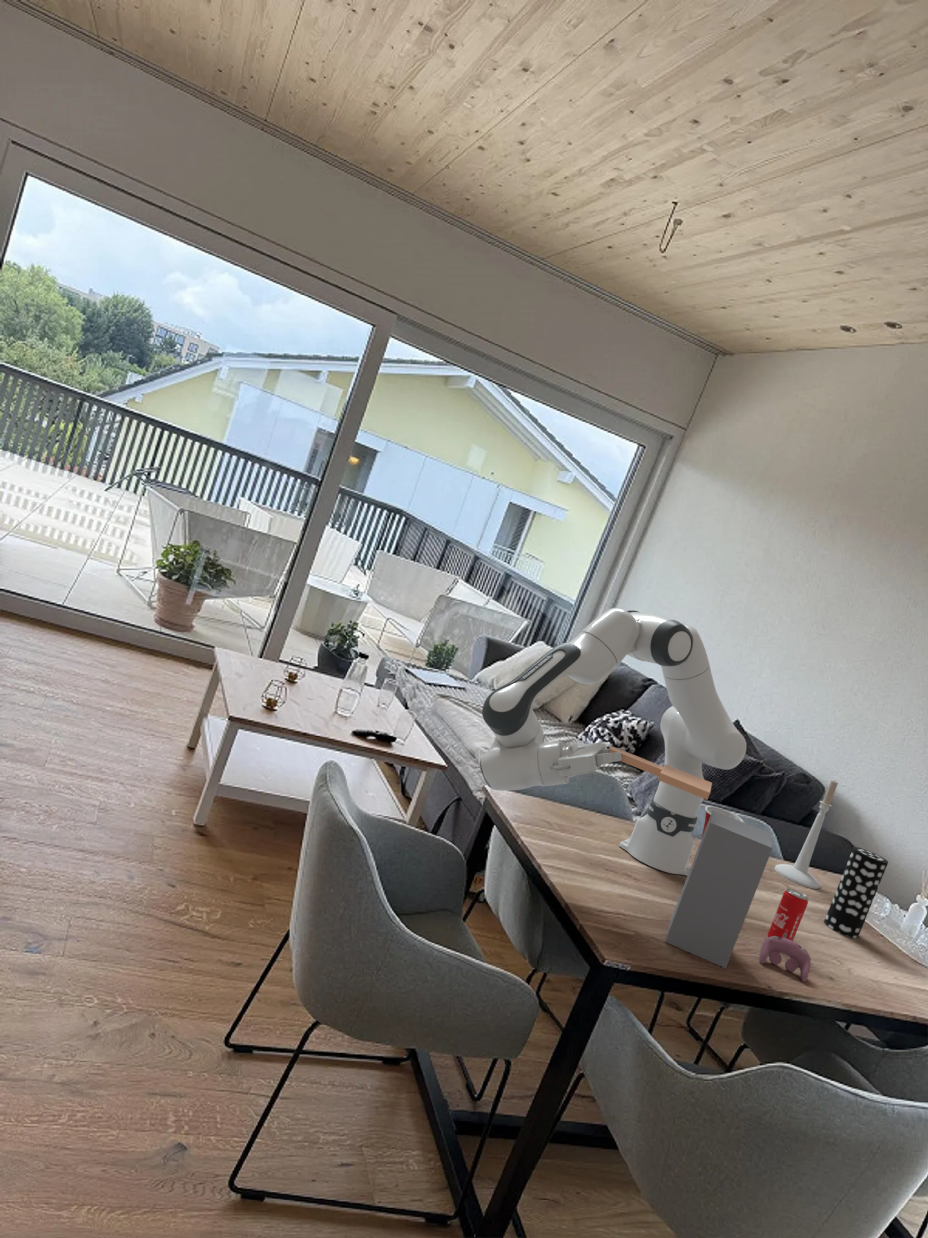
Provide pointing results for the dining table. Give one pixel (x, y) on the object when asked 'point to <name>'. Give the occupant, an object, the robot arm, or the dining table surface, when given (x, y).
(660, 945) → the dining table surface
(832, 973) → the dining table surface
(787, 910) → the beverage can
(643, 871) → the dining table surface
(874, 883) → the white-spotted black cylinder
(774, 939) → the video game controller
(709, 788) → the wooden paddle
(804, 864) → the candlestick
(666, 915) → the dining table surface
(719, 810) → the plastic cup
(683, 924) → the tall box
